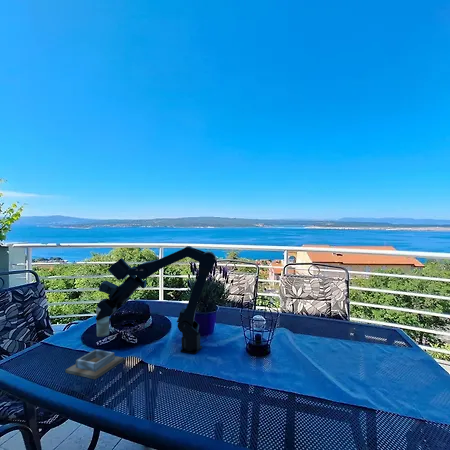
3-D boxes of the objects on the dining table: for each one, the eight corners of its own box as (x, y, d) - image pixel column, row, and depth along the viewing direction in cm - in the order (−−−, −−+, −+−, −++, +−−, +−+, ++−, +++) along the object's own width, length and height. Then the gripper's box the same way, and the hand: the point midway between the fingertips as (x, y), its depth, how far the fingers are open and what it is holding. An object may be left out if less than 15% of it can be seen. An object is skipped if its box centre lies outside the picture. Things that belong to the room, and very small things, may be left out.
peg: (111, 332, 108) (111, 306, 108) (104, 337, 103) (103, 309, 103) (101, 331, 109) (101, 305, 109) (94, 336, 104) (93, 308, 104)
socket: (123, 360, 99) (123, 350, 99) (95, 379, 87) (95, 368, 87) (96, 355, 104) (95, 346, 104) (65, 372, 91) (65, 362, 91)
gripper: (120, 270, 116) (94, 297, 115) (102, 278, 97) (71, 310, 97) (139, 288, 116) (114, 315, 115) (125, 300, 97) (94, 332, 97)
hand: (99, 317), depth 106 cm, fingers closed on peg, 4 cm apart
